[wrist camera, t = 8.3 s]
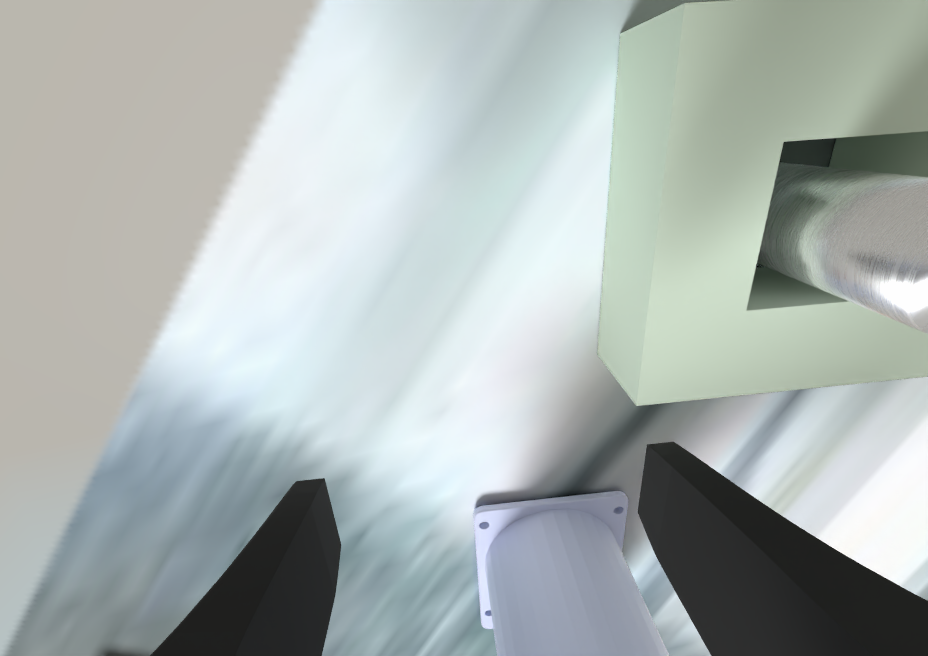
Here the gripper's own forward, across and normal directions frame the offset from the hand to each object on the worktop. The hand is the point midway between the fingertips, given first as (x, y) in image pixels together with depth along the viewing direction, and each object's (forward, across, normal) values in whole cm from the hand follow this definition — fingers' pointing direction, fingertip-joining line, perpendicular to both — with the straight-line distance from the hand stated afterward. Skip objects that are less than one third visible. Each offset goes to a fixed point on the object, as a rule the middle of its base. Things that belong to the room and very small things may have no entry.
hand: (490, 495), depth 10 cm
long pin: (+9, -12, -4) cm, 16 cm away
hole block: (+9, -12, -4) cm, 16 cm away
